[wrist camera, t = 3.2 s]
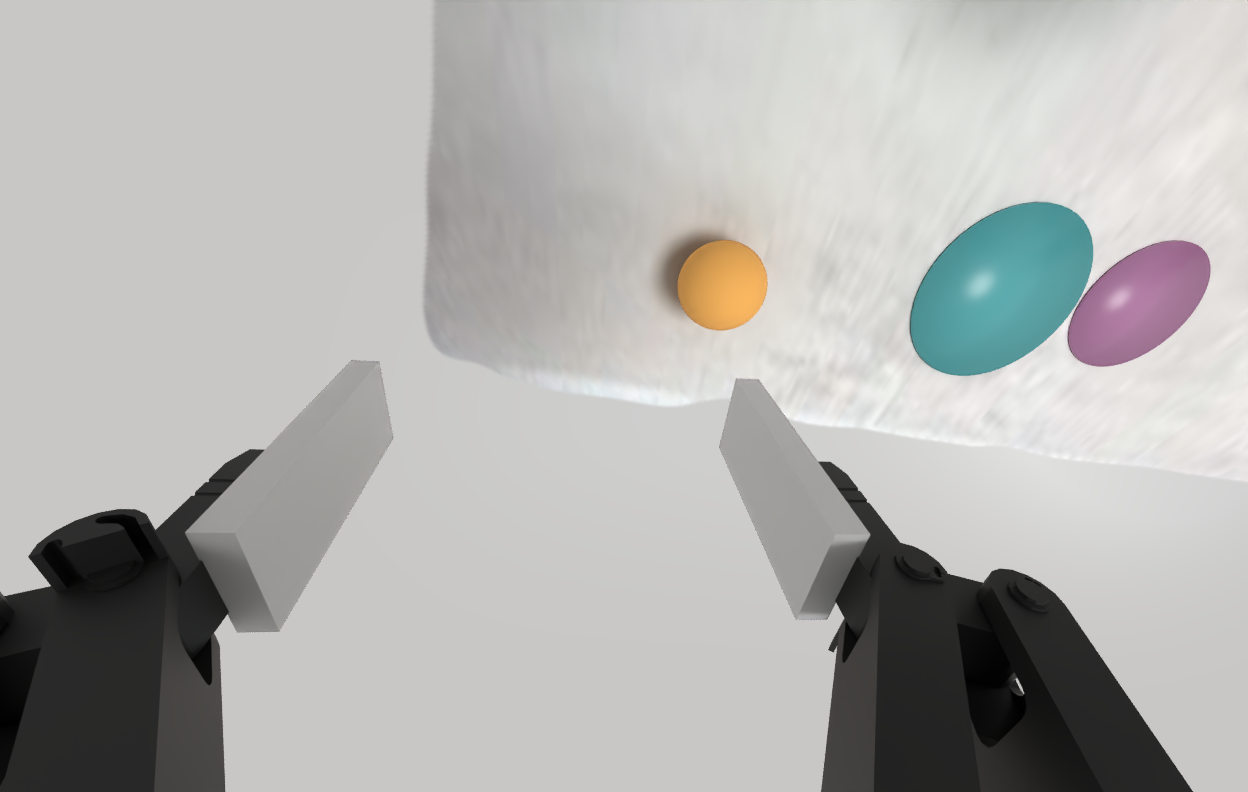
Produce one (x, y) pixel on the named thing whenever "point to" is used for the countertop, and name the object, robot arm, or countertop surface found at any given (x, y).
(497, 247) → the countertop surface
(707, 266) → the ball
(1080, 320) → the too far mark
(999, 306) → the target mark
